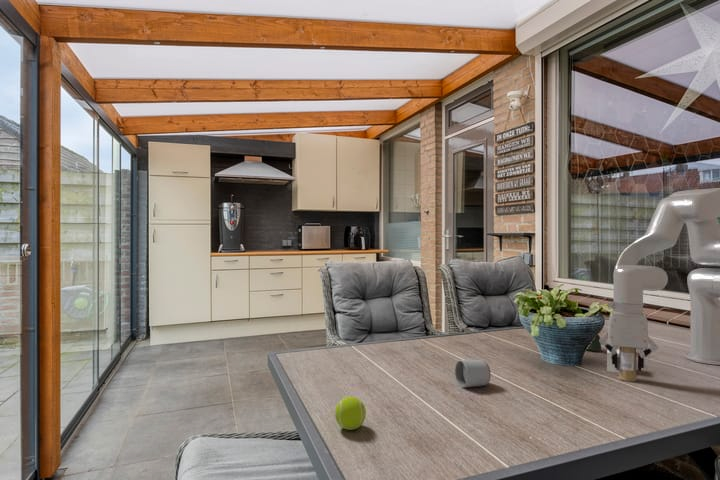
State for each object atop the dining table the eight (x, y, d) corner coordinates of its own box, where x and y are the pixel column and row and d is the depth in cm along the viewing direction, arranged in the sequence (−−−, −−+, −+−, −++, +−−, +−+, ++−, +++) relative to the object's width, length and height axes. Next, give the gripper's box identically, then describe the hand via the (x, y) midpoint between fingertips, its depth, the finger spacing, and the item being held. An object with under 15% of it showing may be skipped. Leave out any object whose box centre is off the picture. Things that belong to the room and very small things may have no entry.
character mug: (592, 346, 166) (592, 312, 166) (610, 350, 160) (610, 315, 160) (573, 349, 162) (573, 315, 161) (590, 354, 155) (590, 318, 155)
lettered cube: (607, 366, 142) (607, 348, 142) (628, 369, 139) (628, 350, 139) (606, 371, 136) (607, 352, 136) (629, 374, 133) (629, 355, 133)
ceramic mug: (492, 388, 122) (492, 361, 122) (466, 391, 120) (466, 364, 120) (473, 377, 132) (473, 352, 132) (449, 379, 130) (449, 354, 130)
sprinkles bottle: (639, 380, 128) (639, 335, 128) (632, 383, 126) (632, 337, 125) (623, 375, 132) (623, 332, 132) (615, 378, 129) (615, 334, 129)
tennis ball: (335, 436, 94) (334, 404, 94) (335, 421, 101) (335, 392, 101) (366, 435, 94) (366, 403, 94) (364, 421, 101) (364, 391, 101)
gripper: (594, 307, 129) (594, 367, 130) (664, 313, 121) (663, 377, 121) (595, 304, 136) (595, 361, 136) (661, 309, 127) (661, 369, 127)
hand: (627, 367), depth 129 cm, fingers open, 5 cm apart
